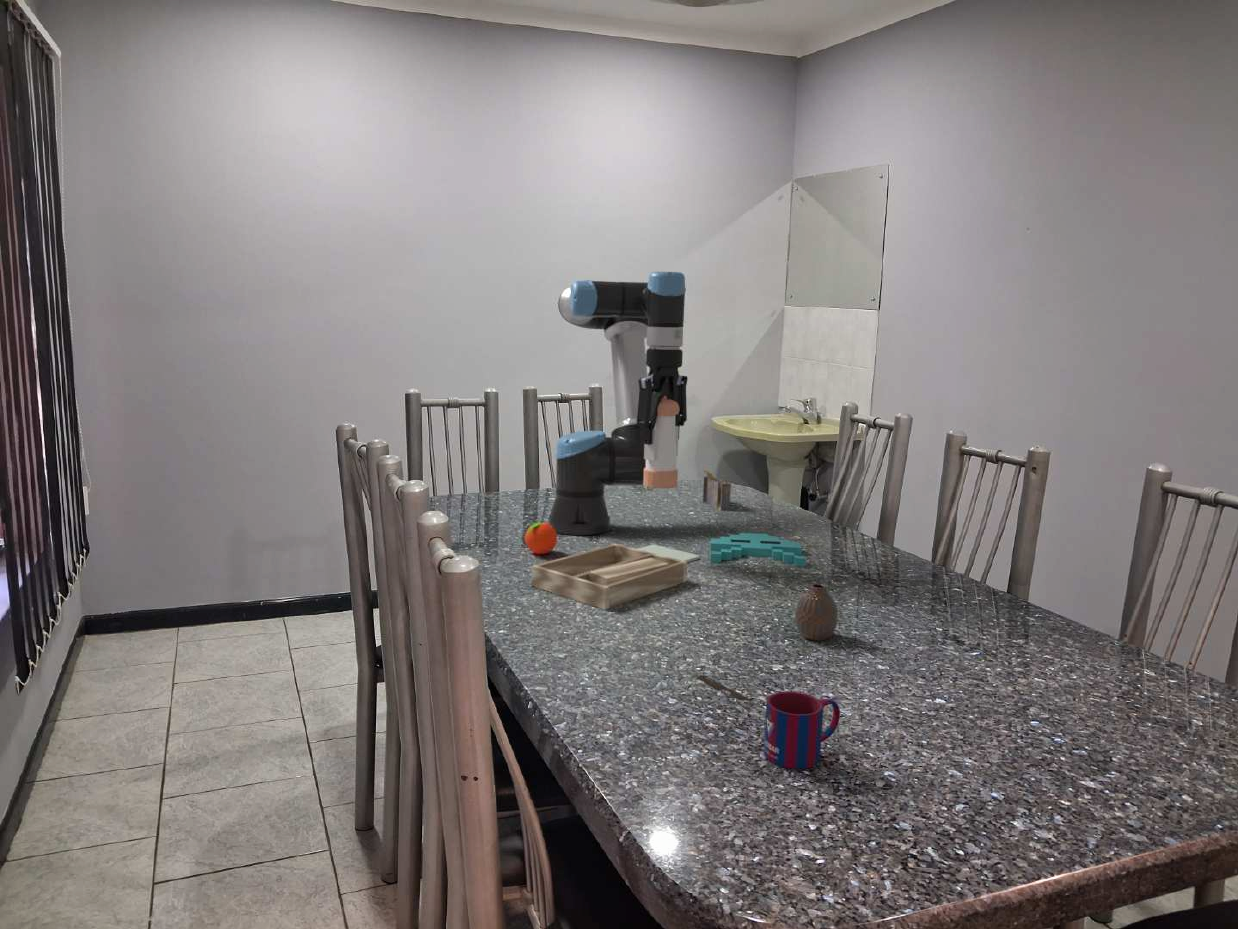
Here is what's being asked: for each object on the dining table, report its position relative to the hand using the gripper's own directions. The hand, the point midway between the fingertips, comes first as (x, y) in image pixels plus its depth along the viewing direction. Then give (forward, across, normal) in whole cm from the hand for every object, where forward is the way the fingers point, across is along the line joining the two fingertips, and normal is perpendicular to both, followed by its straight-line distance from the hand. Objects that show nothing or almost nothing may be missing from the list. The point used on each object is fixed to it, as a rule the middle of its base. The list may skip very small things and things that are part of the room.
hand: (661, 457), depth 190 cm
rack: (+22, -21, -5) cm, 31 cm away
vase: (+22, -18, -48) cm, 56 cm away
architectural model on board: (+23, +52, +22) cm, 61 cm away
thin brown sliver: (+23, -46, -49) cm, 71 cm away
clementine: (+22, -16, +20) cm, 34 cm away
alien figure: (+23, +20, -12) cm, 33 cm away
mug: (+22, -55, -67) cm, 90 cm away
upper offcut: (+20, -21, -10) cm, 31 cm away
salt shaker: (+6, 0, 0) cm, 6 cm away
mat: (+22, 0, 0) cm, 22 cm away
